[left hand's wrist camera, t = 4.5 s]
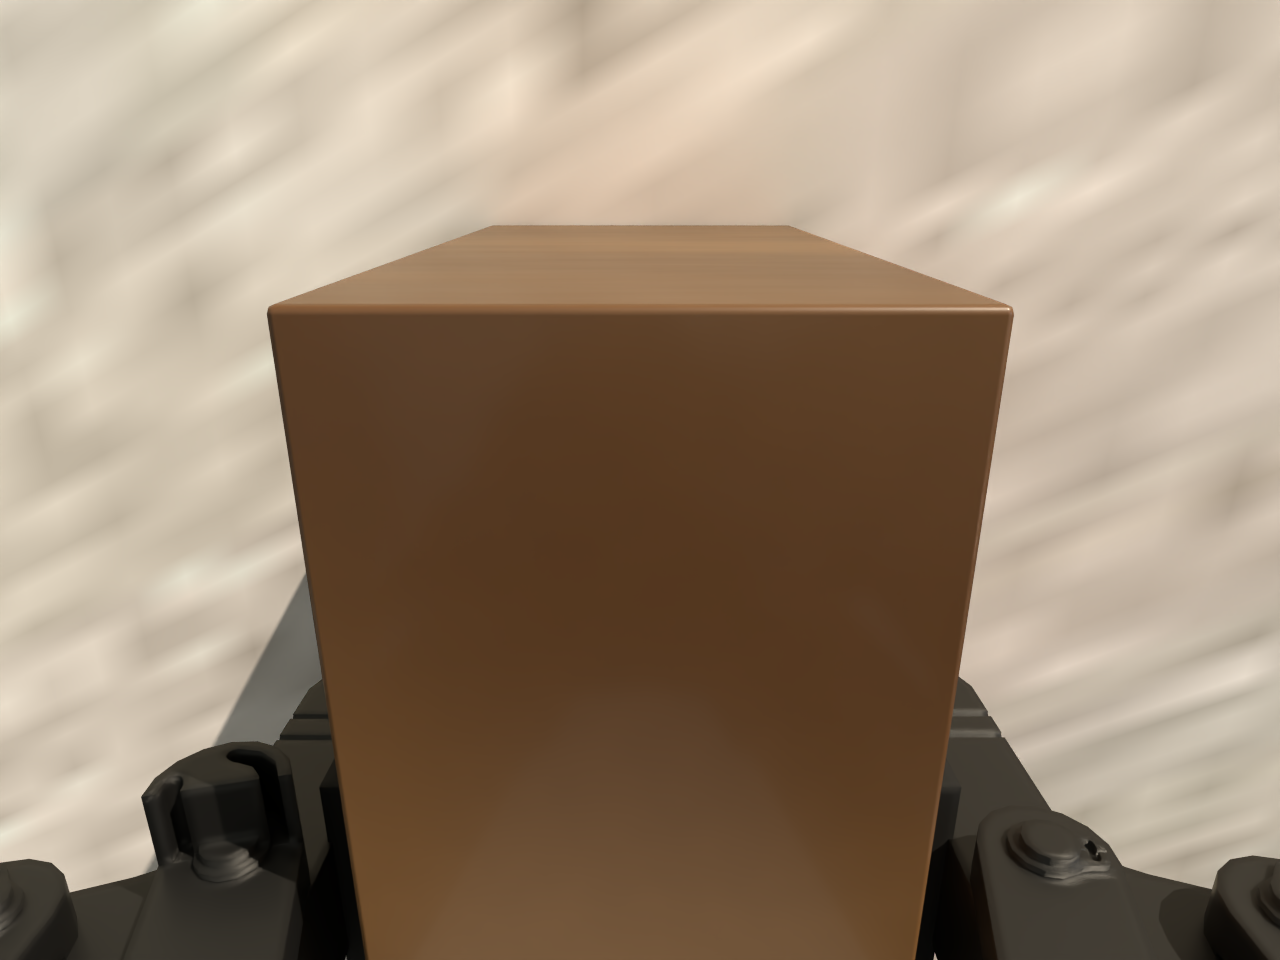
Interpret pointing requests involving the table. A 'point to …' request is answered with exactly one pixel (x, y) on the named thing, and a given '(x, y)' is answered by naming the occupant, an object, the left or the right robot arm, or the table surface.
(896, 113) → the table surface
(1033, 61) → the table surface
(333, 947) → the left robot arm
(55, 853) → the table surface
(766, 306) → the beam
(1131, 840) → the table surface
